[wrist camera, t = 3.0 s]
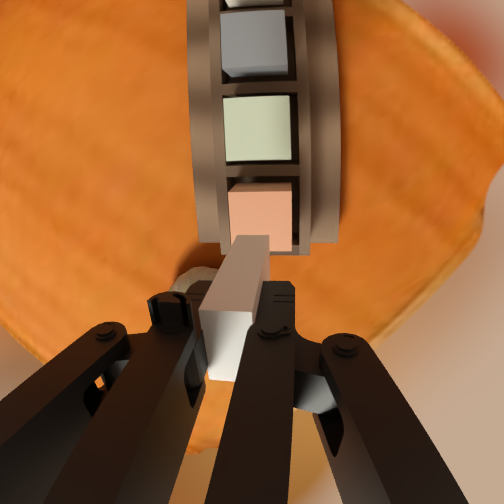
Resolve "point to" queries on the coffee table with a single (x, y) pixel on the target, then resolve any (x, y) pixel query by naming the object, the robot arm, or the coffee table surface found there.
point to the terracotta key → (262, 212)
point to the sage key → (257, 128)
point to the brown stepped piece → (301, 122)
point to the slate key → (254, 43)
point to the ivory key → (252, 3)
